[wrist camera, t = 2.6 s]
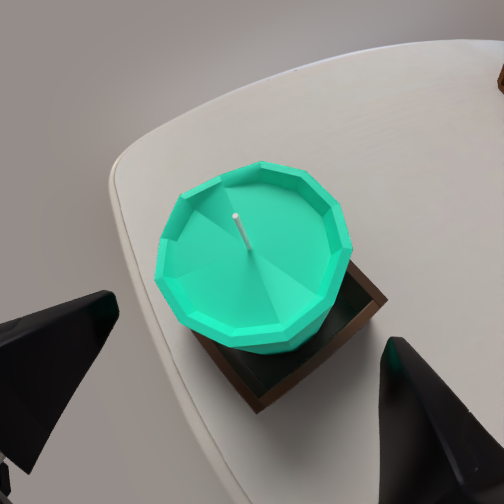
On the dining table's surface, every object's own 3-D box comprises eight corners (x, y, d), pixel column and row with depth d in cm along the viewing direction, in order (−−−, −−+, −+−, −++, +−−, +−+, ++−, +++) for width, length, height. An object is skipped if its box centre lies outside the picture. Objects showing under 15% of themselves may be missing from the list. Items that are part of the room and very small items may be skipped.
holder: (265, 403, 16) (256, 415, 12) (186, 300, 19) (160, 285, 15) (370, 313, 17) (388, 299, 13) (283, 222, 20) (278, 191, 16)
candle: (327, 268, 18) (357, 133, 7) (317, 361, 16) (354, 360, 5) (238, 260, 19) (165, 132, 8) (222, 348, 17) (102, 316, 6)
